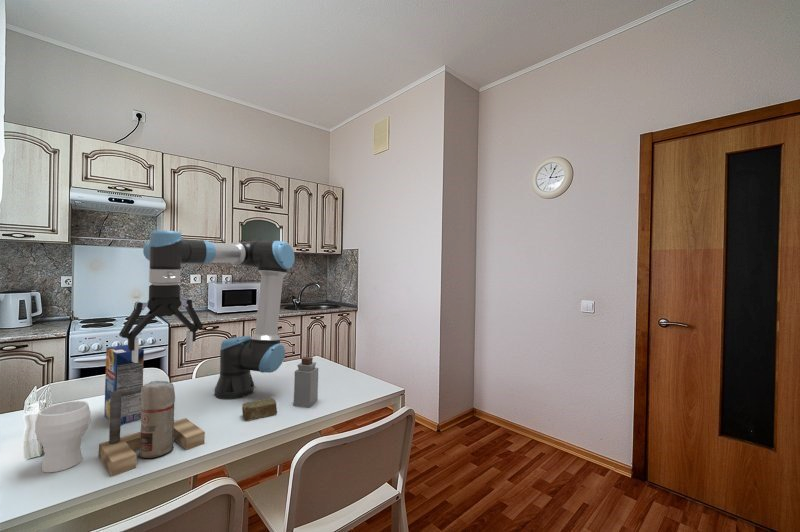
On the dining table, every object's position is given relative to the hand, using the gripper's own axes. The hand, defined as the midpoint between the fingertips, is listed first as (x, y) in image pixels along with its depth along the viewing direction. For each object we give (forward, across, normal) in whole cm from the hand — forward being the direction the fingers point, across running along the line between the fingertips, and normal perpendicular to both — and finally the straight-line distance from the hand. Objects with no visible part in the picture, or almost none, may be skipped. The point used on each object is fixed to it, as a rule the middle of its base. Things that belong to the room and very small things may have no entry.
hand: (163, 357), depth 101 cm
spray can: (+27, -1, 0) cm, 27 cm away
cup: (+27, -20, +10) cm, 35 cm away
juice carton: (+27, -2, +32) cm, 42 cm away
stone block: (+28, +31, +1) cm, 41 cm away
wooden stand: (+27, -2, +1) cm, 27 cm away
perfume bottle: (+28, +48, -3) cm, 56 cm away
